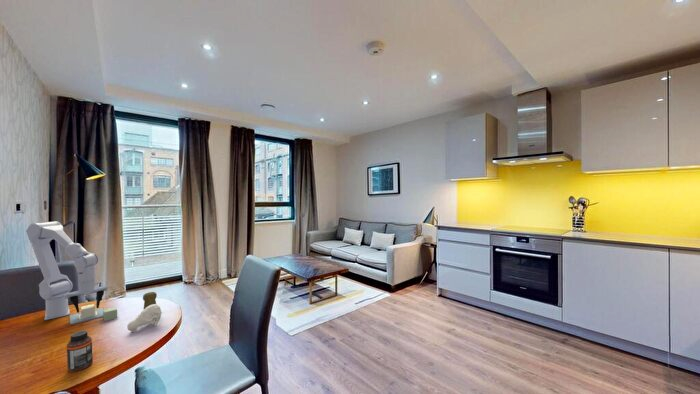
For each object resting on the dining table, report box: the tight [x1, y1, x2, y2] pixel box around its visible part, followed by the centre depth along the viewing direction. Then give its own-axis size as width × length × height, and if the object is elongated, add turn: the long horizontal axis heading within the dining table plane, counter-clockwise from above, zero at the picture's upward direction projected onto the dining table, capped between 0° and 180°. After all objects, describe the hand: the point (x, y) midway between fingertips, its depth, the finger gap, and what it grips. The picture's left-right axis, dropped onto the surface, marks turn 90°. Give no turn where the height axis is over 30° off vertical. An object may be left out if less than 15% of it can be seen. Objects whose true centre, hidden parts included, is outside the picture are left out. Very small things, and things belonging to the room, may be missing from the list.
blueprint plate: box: [69, 307, 105, 326], centre depth 130 cm, size 12×12×1 cm
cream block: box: [80, 303, 96, 318], centre depth 129 cm, size 4×4×4 cm
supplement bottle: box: [66, 329, 93, 373], centre depth 92 cm, size 6×6×11 cm
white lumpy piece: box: [127, 303, 163, 333], centre depth 118 cm, size 6×8×12 cm
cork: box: [142, 291, 157, 311], centre depth 128 cm, size 6×6×11 cm
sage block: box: [102, 306, 118, 322], centre depth 127 cm, size 4×4×4 cm
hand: (87, 309), depth 129 cm, fingers open, 6 cm apart
